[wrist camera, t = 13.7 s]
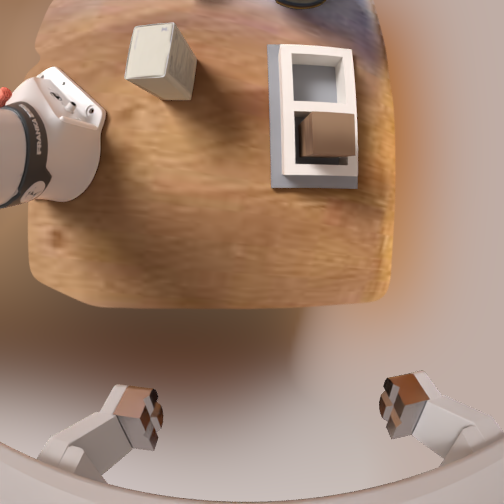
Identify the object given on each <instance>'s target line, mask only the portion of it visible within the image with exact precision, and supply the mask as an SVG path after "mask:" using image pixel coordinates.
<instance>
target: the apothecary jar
mask: <svg viewBox="0 0 504 504" xmlns="http://www.w3.org/2000/svg"><path fill="white" fill-rule="evenodd" d="M325 1H326V0H276V2H277V3H278V4H280V5H283V6H286V7H289V8H295V9H309V8H314V7H317V6H319V5H321V4H323V3H324V2H325Z"/></svg>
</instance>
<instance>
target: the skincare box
mask: <svg viewBox="0 0 504 504" xmlns="http://www.w3.org/2000/svg"><path fill="white" fill-rule="evenodd" d="M196 64H197V58H196V57H195V55H194V53H193V52H192V50H191V48H190V47H189V45H188V44H187V42H186V40H185V39H184V37H183V36H182V34H181V33H180V31H179V29H178V28H177V26H176V25H175V23H161V24H149V25H142V26H136V27H135V28H134V31H133V35H132V39H131V43H130V48H129V53H128V59H127V64H126V71H125V79H126V80H128V81H130V82H132V83H133V84H135V85H137V86H138V87H140V88H142V89H144V90H145V91H147V92H149V93H151V94H152V95H154V96H156V97H157V98H159V99H160V100H191V98H192V91H193V85H194V78H195V71H196Z"/></svg>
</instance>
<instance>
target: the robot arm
mask: <svg viewBox="0 0 504 504" xmlns="http://www.w3.org/2000/svg"><path fill="white" fill-rule="evenodd" d="M0 107H1V108H0V208H6V207H10V206H15V205H19V204H22V203H25V202H28V201H31V200H34V199H46V200H53V201H57V202H66V201H70V200H72V199H74V198H76V197H78V196H79V195H80V194H81V193H83V192H84V191H85V189H86V188H87V187H88V186H89V184H90V183H91V181H92V179H93V177H94V175H95V173H96V170H97V167H98V164H99V159H100V148H101V146H100V135H101V130H102V128H103V125H104V122H105V118H106V112H105V110H104V108H102V107H101V106H100V105H99V104H98V103H97V102H96V101H95V100H94V99H93V98H91V97H90V96H89V95H88V94H87V93H86V92H85V91H84V90H83V89H82V88H80V87H79V86H78V85H77V84H76V83H75V82H74V81H73V80H72V79H71V78H69V77H68V76H67V75H66V74H65V73H64V72H63V71H62V70H61V69H59V68H58V67H51V68H48V69H46V70H45V71H43V72H42V73H40V74H39V75H38V76H37V77H32V78H29V79H27V80H26V81H24V82H23V83H22V84H21V85H19V86H18V87H17V88H16V90H15V91H14V92H13V93H11V91H10V90H9V89H8V88H6V87H2V88H1V89H0ZM93 109H94V112H93V113H91V112H92V110H93ZM383 387H384V389H385V391H384V392H383V393H382V394H381V397H380V401H379V409H380V414H381V416H382V418H383V419H384V420H386V421H388V423H387V426H386V428H387V430H388V432H389V435H390V437H391V439H395V438H400V437H404V436H408V435H412V436H413V437H415V438H416V439H417V440H419V441H420V442H421V443H423V444H424V445H426V446H427V447H428V448H430V449H431V450H432V451H434V452H435V453H437V454H438V455H439V456H441V457H442V458H444V461H443V462H442V463H441V465H440V466H439V467H438V468H435V469H433V470H430V471H427V472H424V473H421V474H418V475H415V476H412V477H409V478H406V479H402V480H399V481H396V482H392V483H388V484H384V485H381V486H376V487H372V488H368V489H363V490H359V491H354V492H349V493H343V494H337V495H331V496H324V497H316V498H308V499H298V500H286V501H268V502H226V501H208V500H196V499H186V498H177V497H170V496H163V495H157V494H151V493H145V492H140V491H135V490H130V489H126V488H122V487H118V486H114V485H110V484H108V483H107V482H106V481H105V479H104V478H103V477H102V476H101V475H103V474H104V473H105V472H106V471H108V469H110V468H111V467H112V466H113V465H114V464H116V463H117V462H118V461H119V460H120V459H122V458H123V457H124V456H125V455H126V454H128V453H129V452H130V451H131V450H132V448H136V449H143V450H151V451H154V449H155V446H156V443H157V440H158V436H157V433H156V432H157V431H159V430H160V429H161V427H162V424H163V410H162V407H161V405H160V404H159V403H158V402H157V399H158V395H157V391H156V390H155V389H152V388H143V387H135V386H125V385H119V384H117V385H115V386H114V387H113V389H112V391H111V393H110V395H109V396H108V398H107V400H106V402H105V403H104V405H103V407H102V409H101V411H100V412H95V413H93V414H92V415H90V416H88V417H86V418H85V419H83V420H81V421H79V422H77V423H75V424H74V425H72V426H70V427H68V428H66V429H65V430H63V431H61V432H59V433H57V434H55V435H53V436H52V437H50V438H49V440H48V441H47V443H46V444H45V446H44V448H43V449H42V451H41V453H40V455H39V456H38V458H37V459H35V458H32V457H30V456H28V455H26V454H23V453H21V452H19V451H17V450H15V449H13V448H11V447H9V446H7V445H5V444H3V443H1V442H0V504H504V432H503V431H502V430H501V428H500V427H499V425H498V424H497V423H496V421H495V420H494V418H493V417H492V416H491V415H488V414H486V413H484V412H481V411H479V410H477V409H474V408H472V407H470V406H468V405H465V404H463V403H461V402H459V401H457V400H454V399H452V398H450V397H448V396H446V395H445V396H442V395H441V394H440V392H439V391H438V389H437V388H436V386H435V385H434V384H433V382H432V381H431V379H430V378H429V377H428V375H427V374H426V372H425V371H423V370H421V371H417V372H413V373H409V374H404V375H399V376H395V377H390V378H387V379H386V380H385V382H384V386H383Z"/></svg>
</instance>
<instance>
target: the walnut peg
mask: <svg viewBox="0 0 504 504" xmlns="http://www.w3.org/2000/svg"><path fill="white" fill-rule="evenodd" d="M298 131H299V157H317V158H335V157H346V156H356V154H355V118H354V114H349V113H336V112H319V111H312V112H311V113H310V114H309V115H308V116H307V117H306V118H305V119H304V120H303V121H302V122H301V123H300V124H299V125H298Z"/></svg>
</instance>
